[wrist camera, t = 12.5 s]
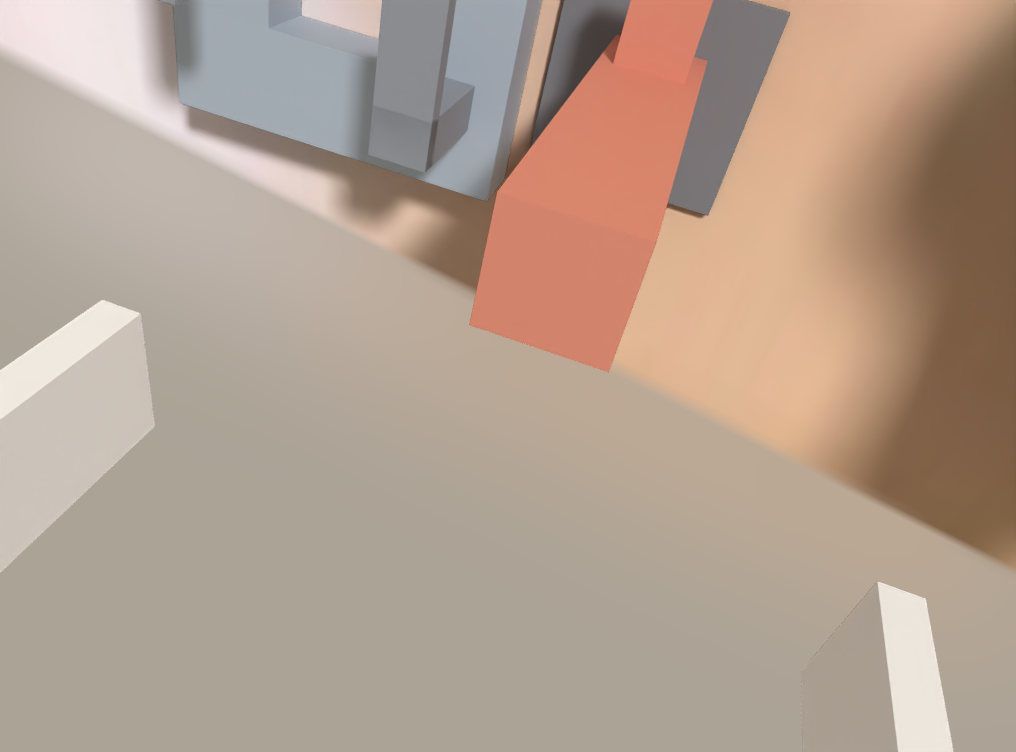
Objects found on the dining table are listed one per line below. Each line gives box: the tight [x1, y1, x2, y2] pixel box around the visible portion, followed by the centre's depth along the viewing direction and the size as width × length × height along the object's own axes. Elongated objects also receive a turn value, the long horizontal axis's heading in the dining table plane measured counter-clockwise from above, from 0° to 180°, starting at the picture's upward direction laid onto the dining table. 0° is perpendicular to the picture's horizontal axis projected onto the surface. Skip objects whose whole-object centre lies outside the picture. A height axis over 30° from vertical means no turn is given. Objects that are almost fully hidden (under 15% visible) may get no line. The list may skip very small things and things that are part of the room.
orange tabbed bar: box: [469, 0, 713, 372], centre depth 26 cm, size 12×4×18 cm, turn 168°
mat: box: [530, 0, 790, 216], centre depth 34 cm, size 9×9×1 cm
